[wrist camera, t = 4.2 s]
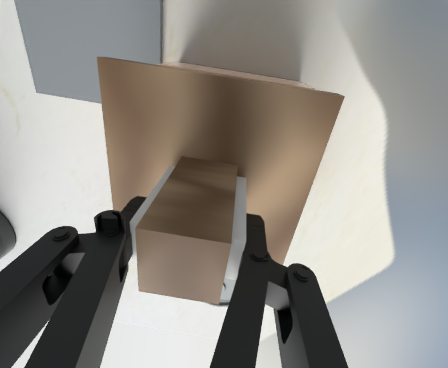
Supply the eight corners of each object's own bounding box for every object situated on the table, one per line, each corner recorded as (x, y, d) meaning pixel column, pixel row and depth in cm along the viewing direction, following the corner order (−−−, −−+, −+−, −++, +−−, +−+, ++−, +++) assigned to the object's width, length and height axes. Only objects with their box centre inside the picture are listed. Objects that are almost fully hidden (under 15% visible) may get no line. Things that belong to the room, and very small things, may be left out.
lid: (123, 234, 22) (53, 334, 14) (106, 56, 15) (-54, 55, 7) (278, 260, 22) (297, 376, 14) (337, 93, 15) (444, 135, 7)
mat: (40, 91, 30) (36, 92, 30) (-1, -84, 22) (-7, -88, 22) (161, 112, 30) (159, 113, 29) (162, -60, 22) (160, -63, 21)
